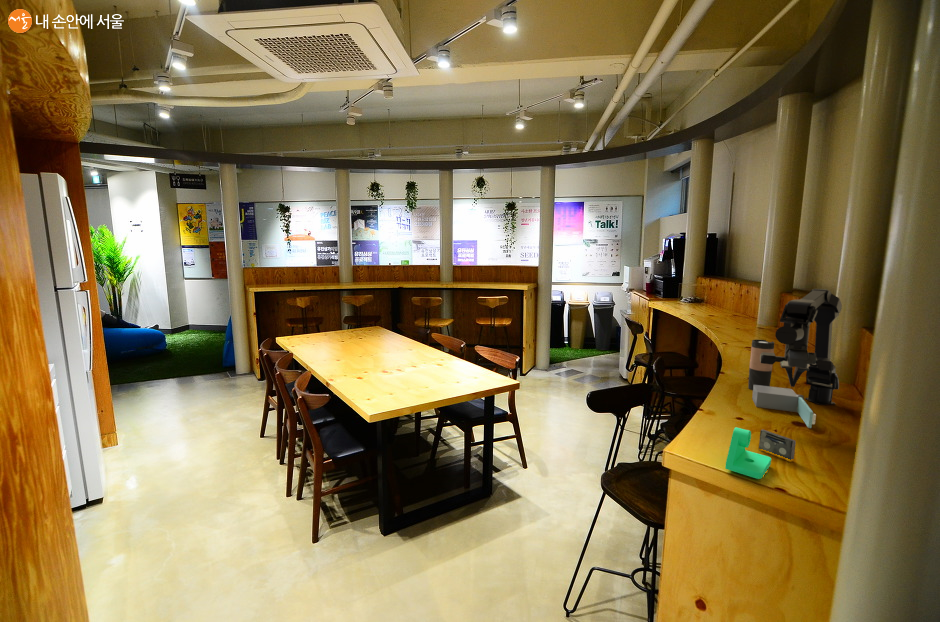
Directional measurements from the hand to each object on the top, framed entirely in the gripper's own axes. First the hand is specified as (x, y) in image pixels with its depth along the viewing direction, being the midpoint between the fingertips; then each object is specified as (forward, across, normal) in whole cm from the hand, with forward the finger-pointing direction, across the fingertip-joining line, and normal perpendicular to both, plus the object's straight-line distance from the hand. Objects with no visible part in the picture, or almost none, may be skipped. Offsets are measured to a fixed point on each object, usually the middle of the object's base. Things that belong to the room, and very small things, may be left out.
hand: (792, 386), depth 144 cm
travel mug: (+13, -7, +35) cm, 38 cm away
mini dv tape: (+12, -6, -33) cm, 35 cm away
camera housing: (+12, -2, +16) cm, 20 cm away
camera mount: (+11, -13, -46) cm, 49 cm away
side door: (+12, +5, +3) cm, 13 cm away
